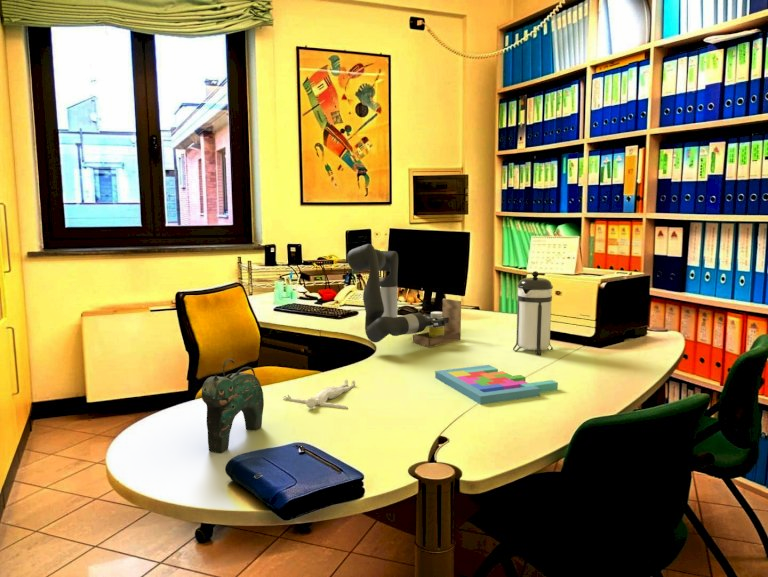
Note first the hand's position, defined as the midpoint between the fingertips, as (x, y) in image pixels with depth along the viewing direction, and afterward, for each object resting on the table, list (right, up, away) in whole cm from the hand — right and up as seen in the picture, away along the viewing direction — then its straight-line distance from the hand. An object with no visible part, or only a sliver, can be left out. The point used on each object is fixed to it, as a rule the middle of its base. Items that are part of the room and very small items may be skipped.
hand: (440, 318), depth 248 cm
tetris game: (+12, -18, -58) cm, 62 cm away
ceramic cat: (-58, -24, -101) cm, 119 cm away
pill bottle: (-2, -9, 0) cm, 9 cm away
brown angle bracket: (-1, -9, 0) cm, 9 cm away
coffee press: (+34, -11, -14) cm, 38 cm away
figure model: (-39, -20, -69) cm, 82 cm away
